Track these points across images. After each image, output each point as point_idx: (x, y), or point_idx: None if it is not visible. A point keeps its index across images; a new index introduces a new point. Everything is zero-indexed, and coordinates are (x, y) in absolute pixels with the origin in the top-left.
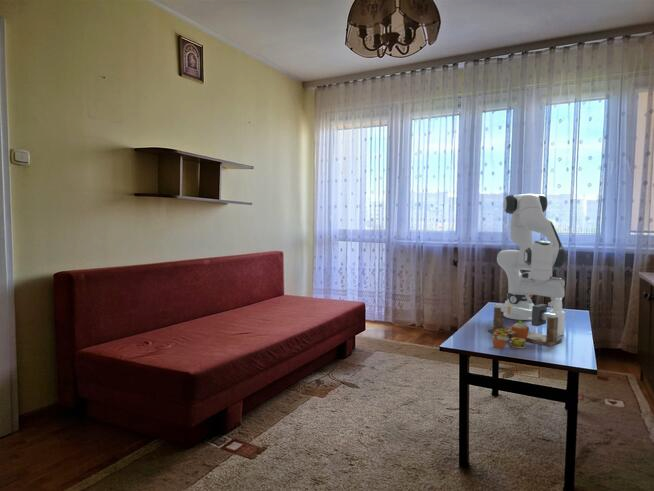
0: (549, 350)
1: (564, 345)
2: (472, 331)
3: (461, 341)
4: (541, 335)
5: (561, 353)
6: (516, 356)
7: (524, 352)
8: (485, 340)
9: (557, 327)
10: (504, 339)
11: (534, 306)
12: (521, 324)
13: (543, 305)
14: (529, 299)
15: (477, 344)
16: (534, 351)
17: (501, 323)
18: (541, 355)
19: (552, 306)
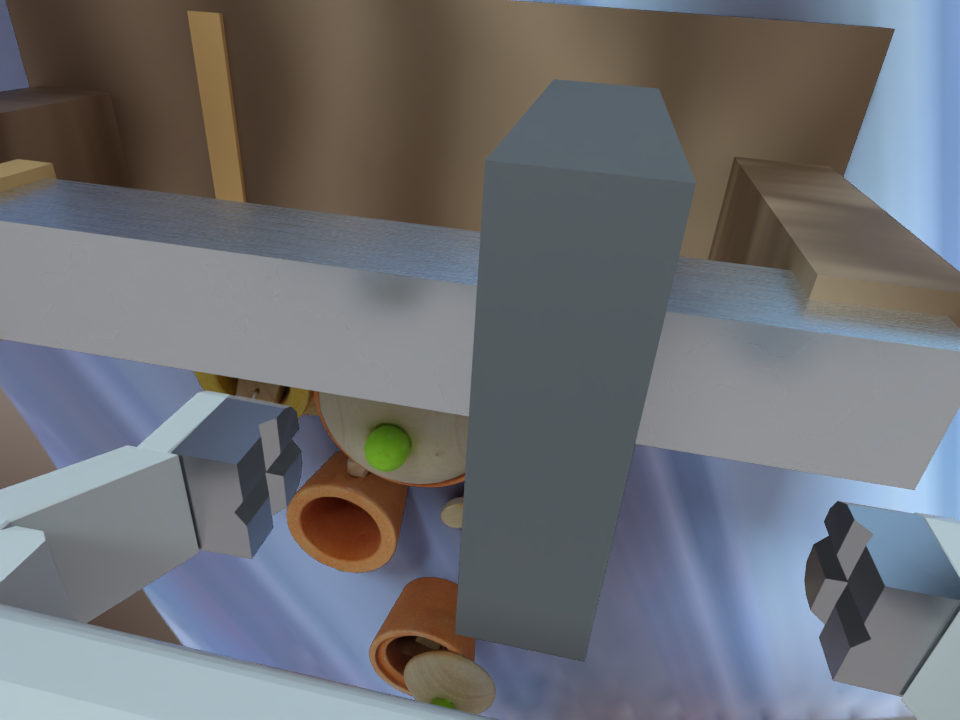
0: (782, 476)
1: (921, 183)
2: (48, 355)
3: (223, 623)
4: (598, 82)
5: (899, 496)
6: (610, 708)
7: (622, 622)
8: (286, 523)
9: (895, 224)
10: (478, 713)
11: (501, 641)
12: (425, 467)
13: (633, 410)
14: (190, 516)
15: (319, 626)
16: (676, 567)
17: (73, 155)
18: (747, 622)
19: (951, 525)
